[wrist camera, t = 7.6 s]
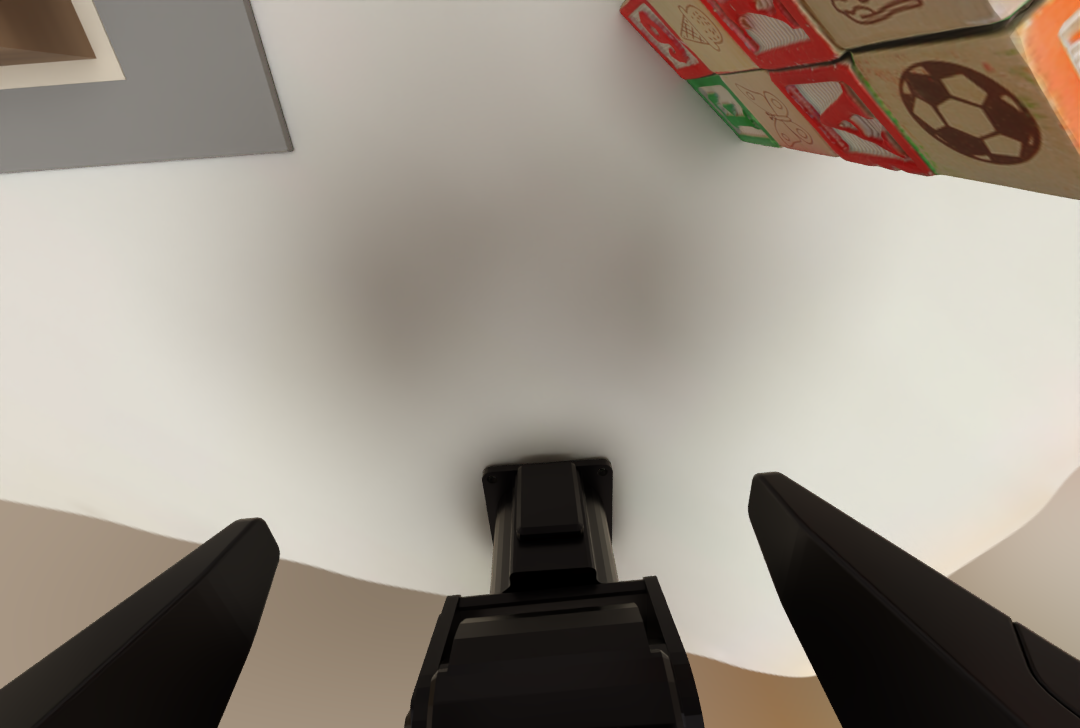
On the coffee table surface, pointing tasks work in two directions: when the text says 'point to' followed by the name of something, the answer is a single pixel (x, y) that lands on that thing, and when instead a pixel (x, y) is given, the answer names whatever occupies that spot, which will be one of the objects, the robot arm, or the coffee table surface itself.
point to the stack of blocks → (889, 80)
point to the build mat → (145, 90)
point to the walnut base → (41, 32)
